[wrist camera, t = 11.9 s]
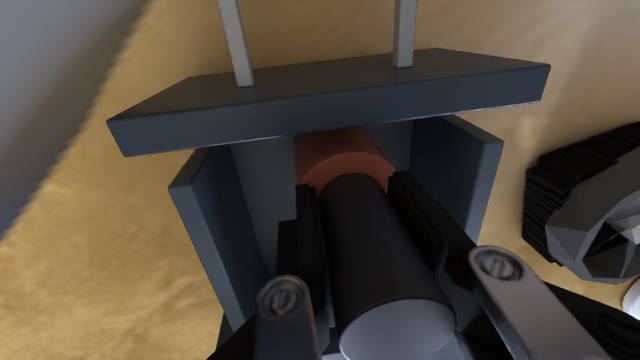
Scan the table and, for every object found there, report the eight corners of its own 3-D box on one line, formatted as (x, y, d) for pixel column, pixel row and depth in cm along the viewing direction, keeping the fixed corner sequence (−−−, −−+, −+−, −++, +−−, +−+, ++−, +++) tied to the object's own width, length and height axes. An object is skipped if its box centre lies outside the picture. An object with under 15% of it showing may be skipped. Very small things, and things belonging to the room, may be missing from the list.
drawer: (145, -44, 11) (-30, -132, 5) (450, -74, 12) (634, -185, 6) (253, 278, 22) (240, 381, 15) (413, 252, 22) (463, 341, 16)
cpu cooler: (567, 302, 20) (593, 199, 15) (511, 248, 25) (516, 156, 20) (713, 258, 19) (792, 133, 14) (625, 211, 24) (660, 105, 19)
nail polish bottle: (373, 111, 14) (517, 254, 5) (373, 184, 16) (473, 369, 7) (288, 122, 14) (288, 288, 5) (300, 194, 16) (314, 396, 7)
